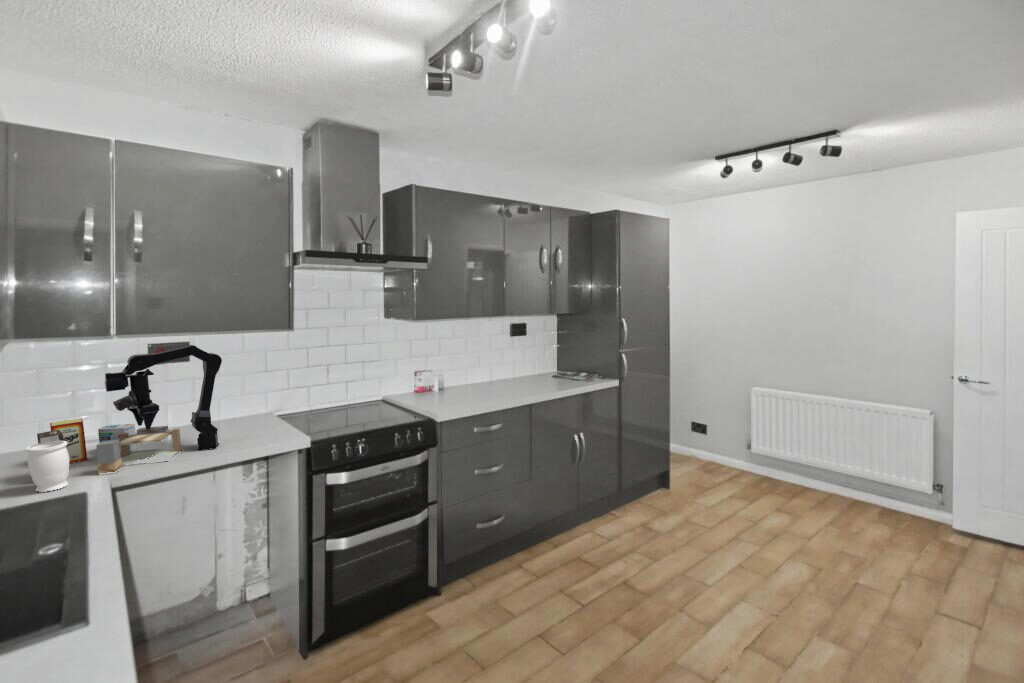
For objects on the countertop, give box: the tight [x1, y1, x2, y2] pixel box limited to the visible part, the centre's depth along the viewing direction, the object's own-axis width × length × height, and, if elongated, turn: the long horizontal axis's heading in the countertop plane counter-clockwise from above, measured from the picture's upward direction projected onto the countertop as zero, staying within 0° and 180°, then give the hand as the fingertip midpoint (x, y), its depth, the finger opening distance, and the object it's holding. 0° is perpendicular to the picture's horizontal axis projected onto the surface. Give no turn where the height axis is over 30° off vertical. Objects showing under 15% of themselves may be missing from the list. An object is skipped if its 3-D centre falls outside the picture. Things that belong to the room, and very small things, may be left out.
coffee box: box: [36, 430, 64, 444], centre depth 185 cm, size 9×6×16 cm
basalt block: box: [95, 440, 121, 464], centre depth 189 cm, size 5×5×7 cm
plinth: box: [96, 457, 123, 475], centre depth 190 cm, size 5×5×4 cm
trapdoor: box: [119, 425, 172, 445], centre depth 205 cm, size 14×14×3 cm
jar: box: [25, 441, 70, 493], centre depth 175 cm, size 11×10×15 cm
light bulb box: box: [97, 423, 138, 453], centre depth 213 cm, size 11×7×11 cm, turn 92°
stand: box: [120, 428, 182, 465], centre depth 204 cm, size 20×15×9 cm
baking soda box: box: [49, 417, 88, 464], centre depth 202 cm, size 10×6×16 cm
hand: (144, 427), depth 201 cm, fingers open, 9 cm apart
